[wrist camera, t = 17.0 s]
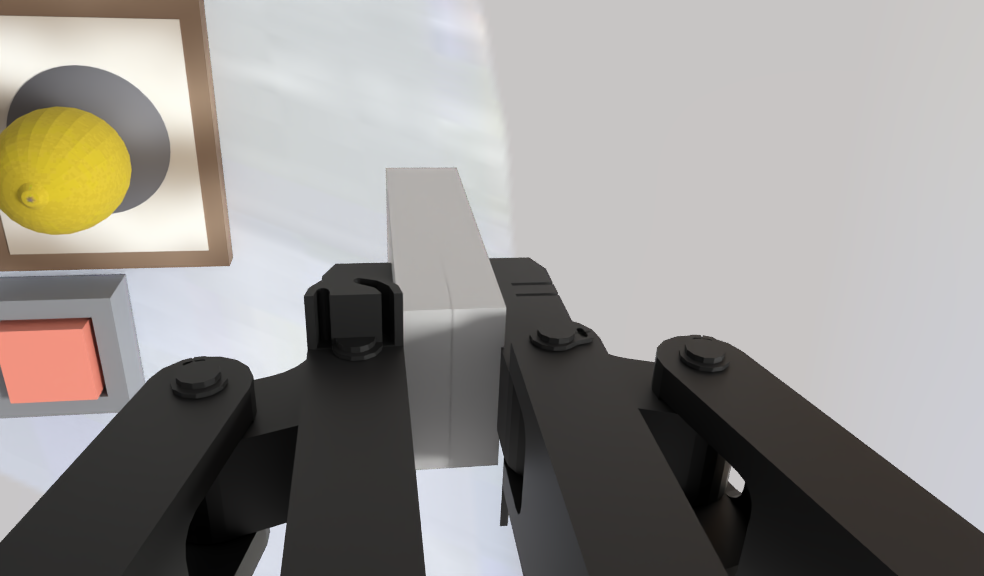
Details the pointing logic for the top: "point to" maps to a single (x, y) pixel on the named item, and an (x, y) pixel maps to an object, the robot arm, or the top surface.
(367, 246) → the top surface
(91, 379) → the button
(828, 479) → the robot arm
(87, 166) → the lemon
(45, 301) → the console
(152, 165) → the board
